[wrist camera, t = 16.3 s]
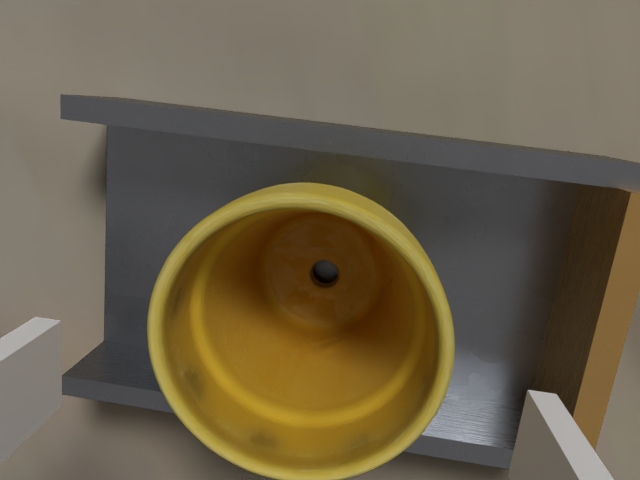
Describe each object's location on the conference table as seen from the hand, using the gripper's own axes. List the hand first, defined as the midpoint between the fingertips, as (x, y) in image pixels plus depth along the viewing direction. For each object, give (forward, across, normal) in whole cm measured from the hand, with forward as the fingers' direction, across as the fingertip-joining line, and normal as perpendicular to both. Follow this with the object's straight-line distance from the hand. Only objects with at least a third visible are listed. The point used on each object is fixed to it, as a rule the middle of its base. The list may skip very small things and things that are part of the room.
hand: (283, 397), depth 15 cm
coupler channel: (+13, -1, 0) cm, 13 cm away
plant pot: (+13, 0, 0) cm, 13 cm away
